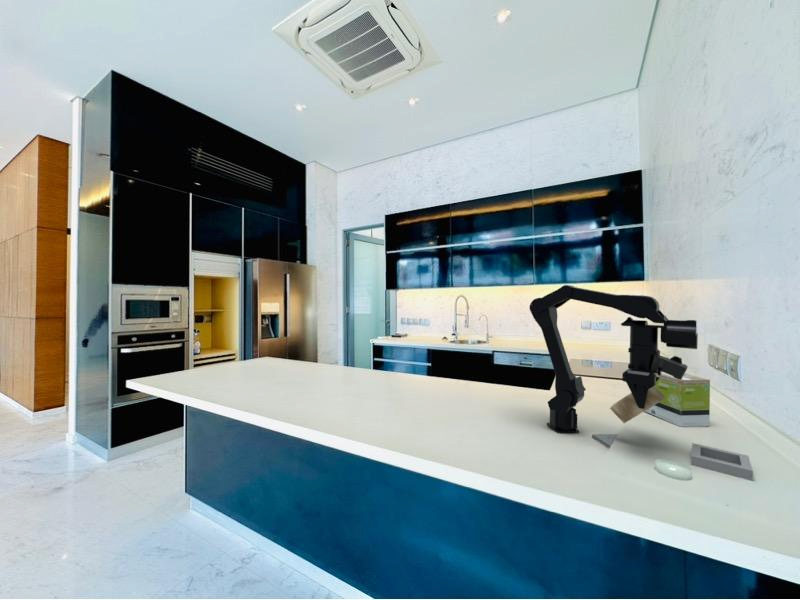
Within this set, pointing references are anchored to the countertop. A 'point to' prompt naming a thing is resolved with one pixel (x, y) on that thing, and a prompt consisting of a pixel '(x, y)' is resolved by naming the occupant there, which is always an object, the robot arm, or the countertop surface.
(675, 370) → the robot arm
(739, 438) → the countertop surface
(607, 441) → the slate board
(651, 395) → the wooden block
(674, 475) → the pale grey oval lump
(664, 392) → the tea box
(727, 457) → the stone holder
